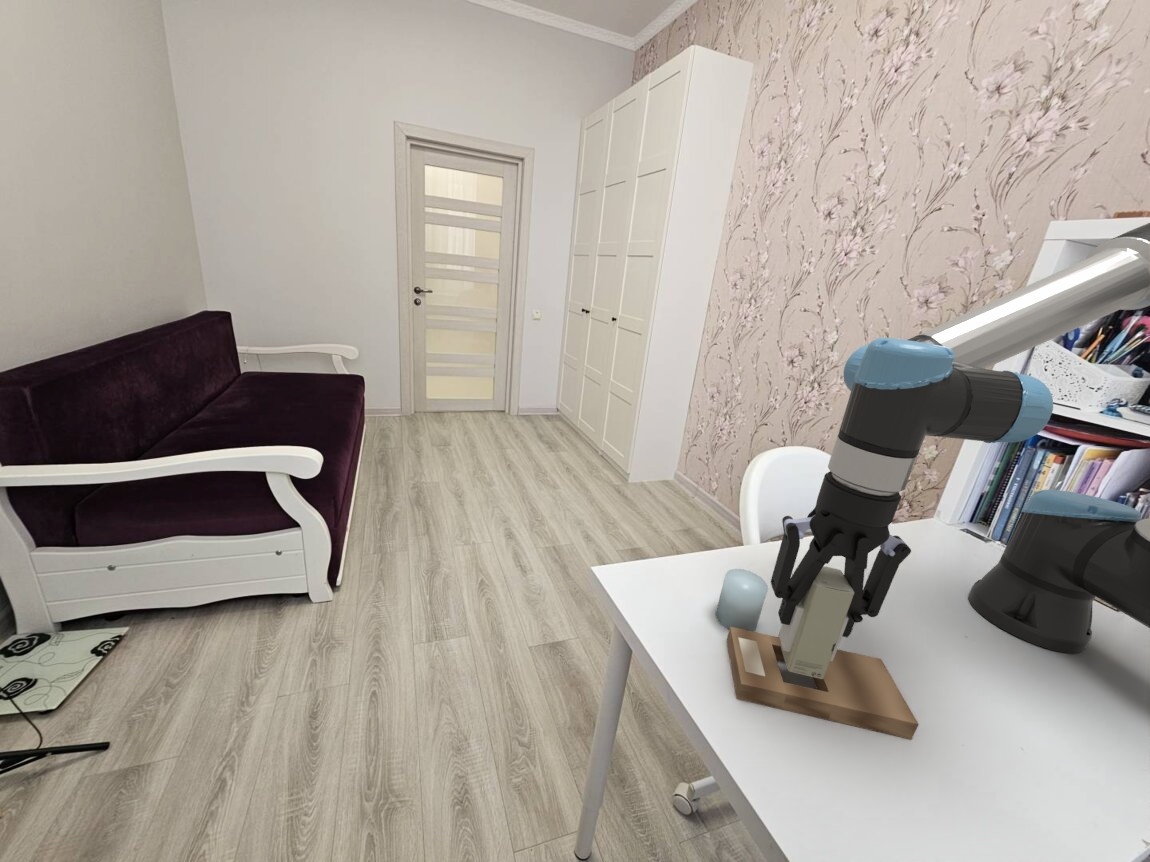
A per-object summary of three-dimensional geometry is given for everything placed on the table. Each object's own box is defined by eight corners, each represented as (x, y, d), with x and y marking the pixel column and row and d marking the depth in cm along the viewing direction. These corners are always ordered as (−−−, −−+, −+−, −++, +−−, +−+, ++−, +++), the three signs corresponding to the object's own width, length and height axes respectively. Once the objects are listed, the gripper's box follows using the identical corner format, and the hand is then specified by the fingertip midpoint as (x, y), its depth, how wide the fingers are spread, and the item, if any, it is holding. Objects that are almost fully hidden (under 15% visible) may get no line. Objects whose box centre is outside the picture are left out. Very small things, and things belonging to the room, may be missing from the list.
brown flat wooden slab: (875, 672, 65) (881, 658, 64) (911, 739, 55) (919, 723, 54) (726, 640, 67) (730, 626, 66) (736, 698, 58) (741, 683, 57)
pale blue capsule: (752, 610, 74) (762, 572, 72) (760, 637, 68) (772, 598, 66) (713, 602, 75) (722, 565, 72) (718, 629, 69) (728, 590, 67)
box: (824, 681, 58) (857, 595, 53) (786, 672, 58) (817, 586, 54) (812, 650, 63) (842, 568, 58) (777, 642, 63) (805, 560, 59)
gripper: (930, 481, 55) (865, 642, 62) (774, 455, 57) (730, 613, 64) (969, 511, 47) (891, 688, 55) (790, 480, 50) (738, 654, 57)
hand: (805, 647), depth 60 cm, fingers closed on box, 4 cm apart
